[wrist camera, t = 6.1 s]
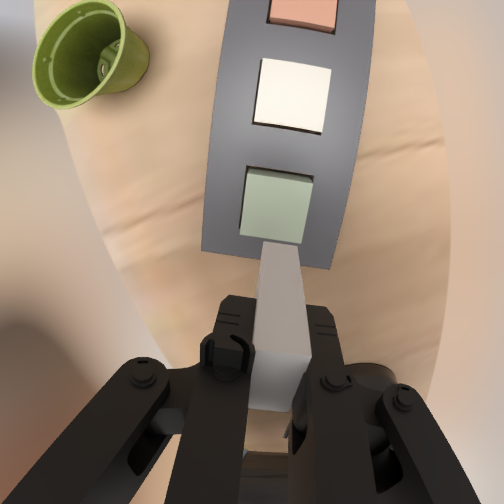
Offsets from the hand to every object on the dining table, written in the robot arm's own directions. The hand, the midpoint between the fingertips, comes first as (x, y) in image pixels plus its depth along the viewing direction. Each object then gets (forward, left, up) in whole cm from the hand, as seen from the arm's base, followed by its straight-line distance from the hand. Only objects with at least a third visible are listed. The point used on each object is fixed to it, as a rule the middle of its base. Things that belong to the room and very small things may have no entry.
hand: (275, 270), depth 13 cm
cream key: (+9, 0, -13) cm, 16 cm away
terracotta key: (+18, 0, -14) cm, 23 cm away
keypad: (+9, 0, -15) cm, 17 cm away
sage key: (0, 0, -13) cm, 13 cm away
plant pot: (+12, +16, -15) cm, 25 cm away
